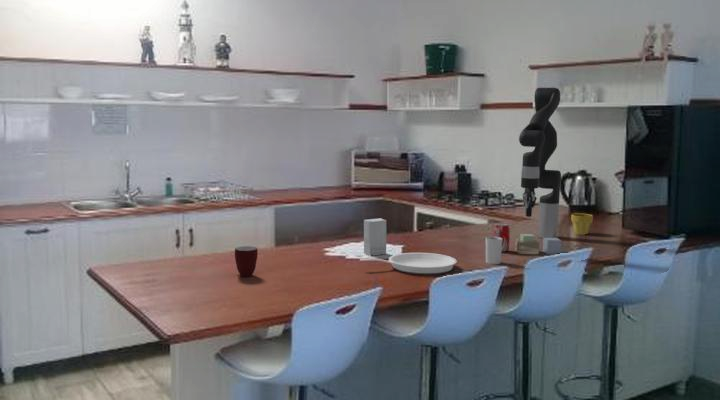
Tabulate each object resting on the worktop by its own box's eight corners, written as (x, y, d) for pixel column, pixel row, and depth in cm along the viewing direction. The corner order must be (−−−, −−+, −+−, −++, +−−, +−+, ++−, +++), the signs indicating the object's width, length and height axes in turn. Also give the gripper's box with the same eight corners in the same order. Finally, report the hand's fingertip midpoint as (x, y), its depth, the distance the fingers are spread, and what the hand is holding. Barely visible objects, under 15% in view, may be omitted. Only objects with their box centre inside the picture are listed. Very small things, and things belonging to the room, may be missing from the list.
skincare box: (380, 252, 283) (380, 217, 282) (386, 254, 278) (387, 220, 276) (362, 253, 280) (363, 219, 278) (369, 256, 274) (369, 221, 273)
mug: (226, 274, 240) (225, 247, 238) (243, 270, 246) (243, 244, 244) (244, 279, 233) (244, 251, 231) (262, 275, 239) (262, 248, 238)
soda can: (509, 253, 285) (510, 225, 284) (492, 252, 287) (493, 225, 285) (508, 249, 292) (509, 223, 291) (492, 249, 293) (493, 222, 292)
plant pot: (591, 236, 330) (592, 216, 328) (570, 234, 333) (571, 215, 332) (591, 232, 339) (593, 214, 338) (570, 231, 343) (571, 212, 342)
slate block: (542, 251, 291) (543, 237, 290) (556, 251, 291) (556, 237, 291) (547, 253, 285) (547, 240, 284) (560, 254, 285) (561, 240, 285)
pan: (468, 274, 247) (468, 261, 246) (369, 280, 236) (370, 267, 235) (440, 259, 272) (440, 248, 271) (350, 264, 261) (350, 252, 260)
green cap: (519, 245, 290) (520, 233, 289) (531, 245, 290) (531, 233, 289) (523, 247, 285) (523, 235, 284) (534, 247, 285) (535, 236, 284)
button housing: (515, 250, 292) (515, 239, 291) (533, 250, 292) (533, 239, 291) (520, 253, 284) (520, 242, 283) (538, 254, 284) (539, 242, 283)
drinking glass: (497, 265, 262) (499, 240, 260) (482, 262, 265) (483, 238, 264) (503, 262, 267) (504, 237, 266) (488, 260, 271) (489, 236, 269)
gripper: (543, 178, 277) (541, 219, 279) (534, 175, 290) (532, 214, 293) (526, 178, 277) (524, 219, 279) (517, 175, 290) (515, 214, 292)
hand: (528, 216), depth 286 cm, fingers closed
